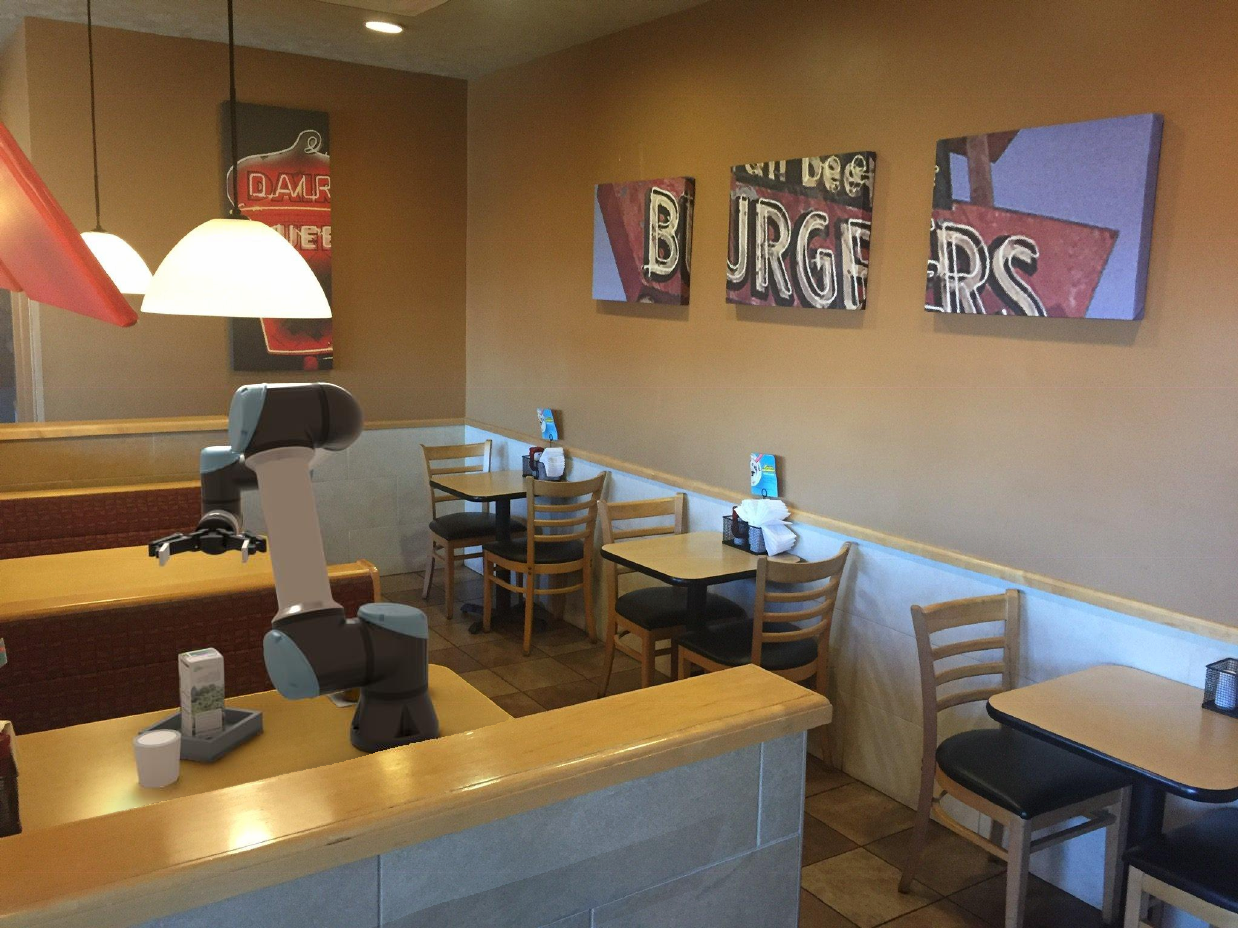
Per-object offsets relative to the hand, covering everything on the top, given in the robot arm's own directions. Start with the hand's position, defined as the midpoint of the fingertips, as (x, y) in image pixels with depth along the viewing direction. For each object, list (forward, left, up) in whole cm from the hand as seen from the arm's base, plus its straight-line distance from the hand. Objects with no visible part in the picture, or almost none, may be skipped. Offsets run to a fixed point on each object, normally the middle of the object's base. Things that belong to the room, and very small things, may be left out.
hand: (203, 557), depth 178 cm
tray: (-5, +8, -30) cm, 32 cm away
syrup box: (-5, +8, -29) cm, 31 cm away
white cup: (-8, +23, -30) cm, 39 cm away
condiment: (-19, -18, -30) cm, 40 cm away
